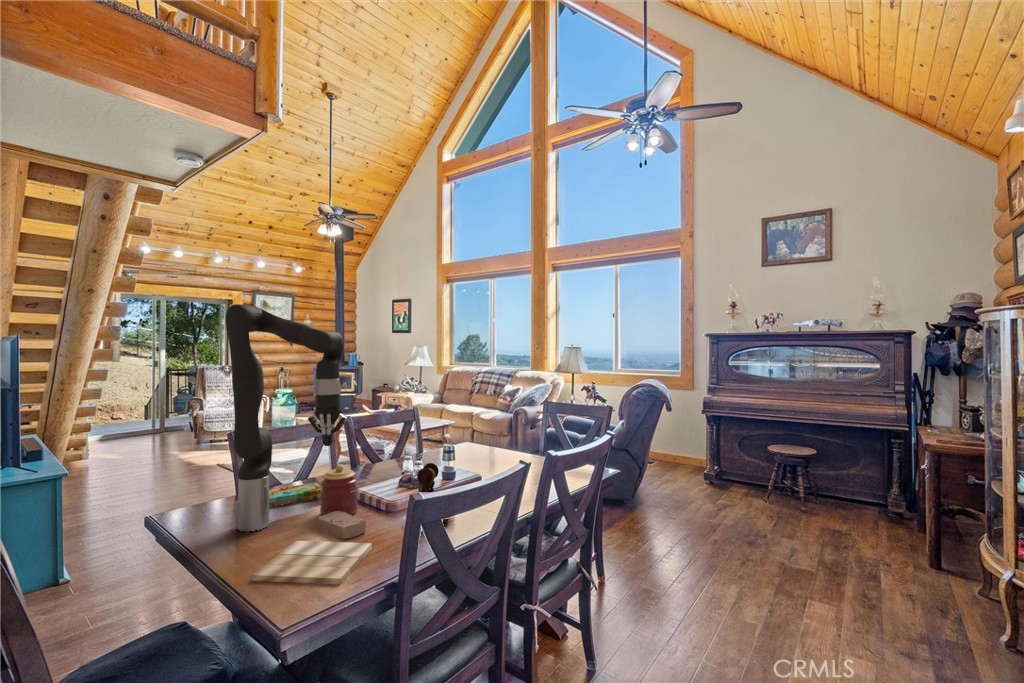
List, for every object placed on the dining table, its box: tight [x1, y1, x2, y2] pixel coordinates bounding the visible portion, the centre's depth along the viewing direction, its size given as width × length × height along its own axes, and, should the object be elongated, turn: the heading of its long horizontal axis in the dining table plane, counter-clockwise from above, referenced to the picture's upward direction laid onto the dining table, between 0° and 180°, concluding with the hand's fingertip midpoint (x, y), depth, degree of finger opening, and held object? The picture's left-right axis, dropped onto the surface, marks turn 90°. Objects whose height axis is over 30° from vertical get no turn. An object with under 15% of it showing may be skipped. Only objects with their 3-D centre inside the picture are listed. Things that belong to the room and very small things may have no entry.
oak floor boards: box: [251, 553, 360, 585], centre depth 128 cm, size 24×12×2 cm, turn 85°
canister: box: [319, 464, 359, 516], centre depth 172 cm, size 13×13×18 cm
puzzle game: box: [269, 482, 322, 507], centre depth 187 cm, size 12×5×20 cm
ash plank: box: [279, 540, 373, 563], centre depth 139 cm, size 24×9×2 cm, turn 85°
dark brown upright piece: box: [416, 462, 450, 524], centre depth 162 cm, size 15×15×20 cm
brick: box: [316, 511, 367, 540], centre depth 156 cm, size 17×8×5 cm, turn 52°
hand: (328, 445), depth 153 cm, fingers closed
